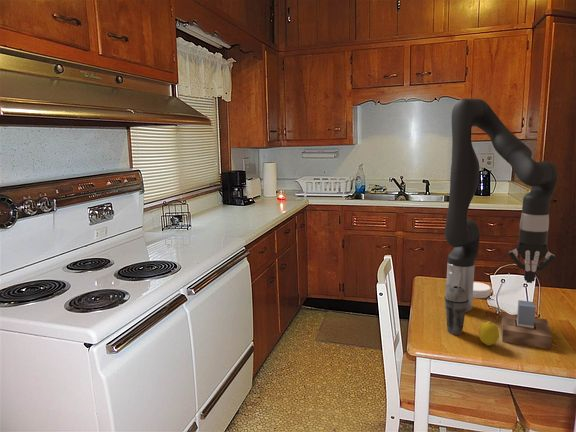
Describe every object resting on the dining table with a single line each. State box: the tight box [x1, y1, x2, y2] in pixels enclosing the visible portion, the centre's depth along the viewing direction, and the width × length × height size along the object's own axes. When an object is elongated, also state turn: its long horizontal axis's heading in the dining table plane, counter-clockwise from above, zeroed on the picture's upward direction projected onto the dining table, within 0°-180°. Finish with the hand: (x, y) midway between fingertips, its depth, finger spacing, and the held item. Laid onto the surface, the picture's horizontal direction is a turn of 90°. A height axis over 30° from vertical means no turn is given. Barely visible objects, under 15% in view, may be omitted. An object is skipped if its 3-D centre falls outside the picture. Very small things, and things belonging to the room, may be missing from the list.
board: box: [500, 312, 553, 350], centre depth 134 cm, size 13×13×4 cm
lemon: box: [478, 320, 500, 347], centre depth 129 cm, size 6×6×8 cm
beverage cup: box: [444, 273, 468, 336], centre depth 137 cm, size 7×7×20 cm
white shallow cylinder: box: [473, 281, 492, 299], centre depth 170 cm, size 10×10×4 cm
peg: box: [516, 299, 536, 329], centre depth 134 cm, size 4×4×11 cm
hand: (529, 282), depth 131 cm, fingers closed
